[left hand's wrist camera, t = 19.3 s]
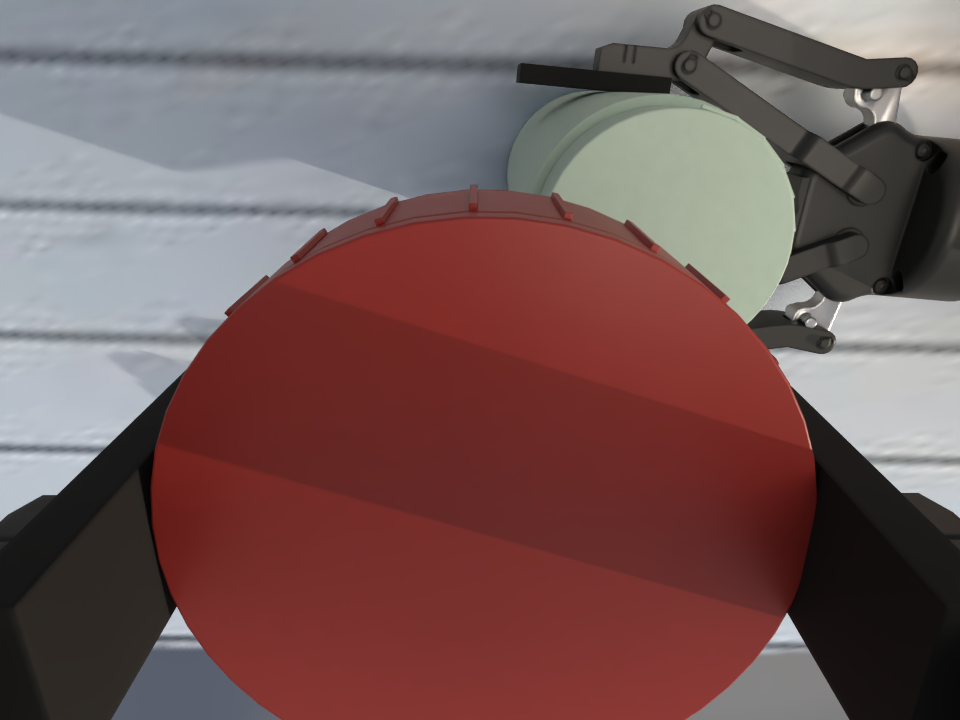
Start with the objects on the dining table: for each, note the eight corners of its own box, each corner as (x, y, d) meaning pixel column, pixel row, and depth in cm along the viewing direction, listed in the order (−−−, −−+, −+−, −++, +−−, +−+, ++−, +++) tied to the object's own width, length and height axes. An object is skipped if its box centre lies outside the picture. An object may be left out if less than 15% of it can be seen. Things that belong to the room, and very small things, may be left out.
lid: (335, 61, 10) (292, 55, 8) (877, 353, 12) (973, 417, 9) (137, 560, 13) (67, 657, 11) (582, 730, 15) (600, 845, 13)
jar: (627, 270, 40) (731, 401, 24) (486, 225, 39) (491, 327, 23) (689, 121, 37) (858, 149, 21) (537, 67, 36) (586, 51, 20)
